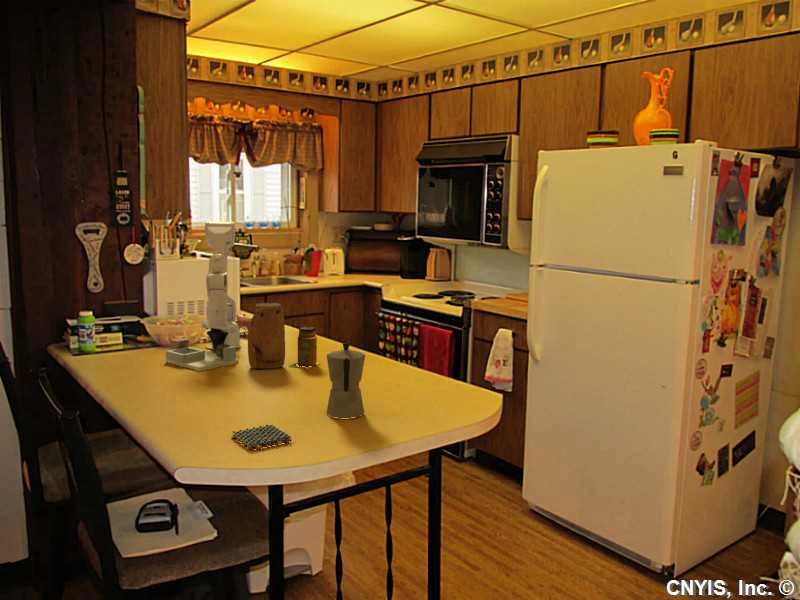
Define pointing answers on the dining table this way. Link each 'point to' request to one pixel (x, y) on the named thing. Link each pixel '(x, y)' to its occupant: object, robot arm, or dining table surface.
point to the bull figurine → (243, 321)
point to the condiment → (306, 347)
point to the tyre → (220, 350)
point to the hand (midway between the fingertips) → (218, 352)
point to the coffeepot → (345, 383)
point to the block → (267, 337)
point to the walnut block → (178, 343)
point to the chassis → (201, 358)
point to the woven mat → (261, 437)
